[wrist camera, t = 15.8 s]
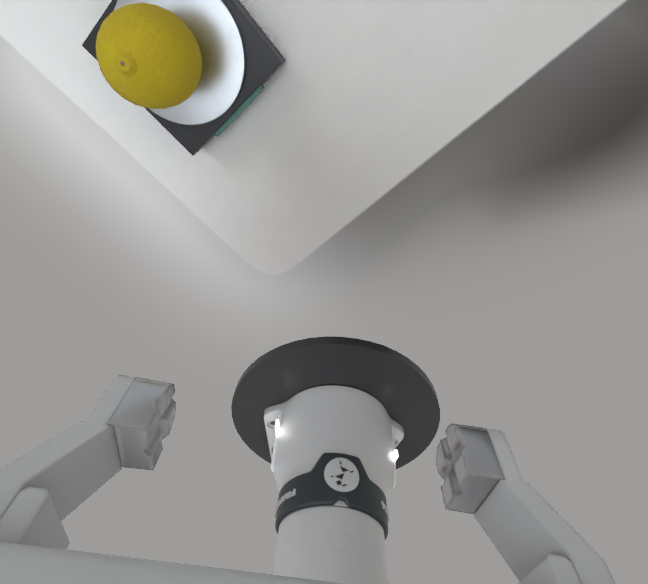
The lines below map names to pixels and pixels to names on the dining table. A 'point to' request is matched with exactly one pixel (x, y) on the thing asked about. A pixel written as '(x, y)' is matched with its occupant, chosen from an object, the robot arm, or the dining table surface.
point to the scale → (258, 69)
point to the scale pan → (207, 59)
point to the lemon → (149, 56)
